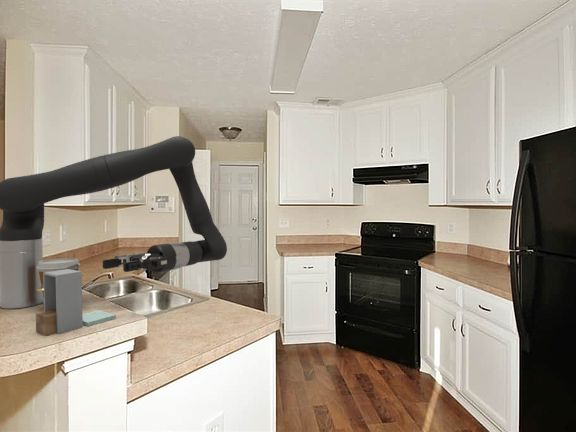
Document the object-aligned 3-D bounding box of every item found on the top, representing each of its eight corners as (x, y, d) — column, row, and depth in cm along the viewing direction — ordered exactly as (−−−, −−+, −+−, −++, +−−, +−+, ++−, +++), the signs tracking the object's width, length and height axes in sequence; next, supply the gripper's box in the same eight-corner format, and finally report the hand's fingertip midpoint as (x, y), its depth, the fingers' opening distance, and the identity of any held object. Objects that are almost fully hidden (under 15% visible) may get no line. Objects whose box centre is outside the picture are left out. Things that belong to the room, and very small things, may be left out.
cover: (44, 328, 76) (43, 272, 75) (69, 322, 80) (68, 269, 80) (57, 333, 73) (56, 275, 72) (82, 326, 77) (81, 271, 77)
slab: (71, 320, 81) (70, 317, 81) (99, 313, 86) (98, 310, 86) (87, 326, 77) (87, 322, 77) (116, 318, 83) (116, 314, 83)
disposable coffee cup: (72, 300, 99) (72, 256, 98) (87, 306, 93) (86, 260, 92) (31, 307, 91) (31, 261, 91) (44, 314, 85) (43, 265, 85)
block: (36, 332, 74) (35, 313, 74) (57, 327, 77) (56, 308, 77) (45, 336, 72) (45, 316, 71) (66, 330, 75) (66, 311, 75)
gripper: (151, 242, 103) (96, 248, 89) (185, 244, 95) (131, 252, 82) (152, 268, 103) (97, 278, 89) (186, 272, 96) (132, 284, 82)
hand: (113, 266), depth 86 cm, fingers open, 8 cm apart
